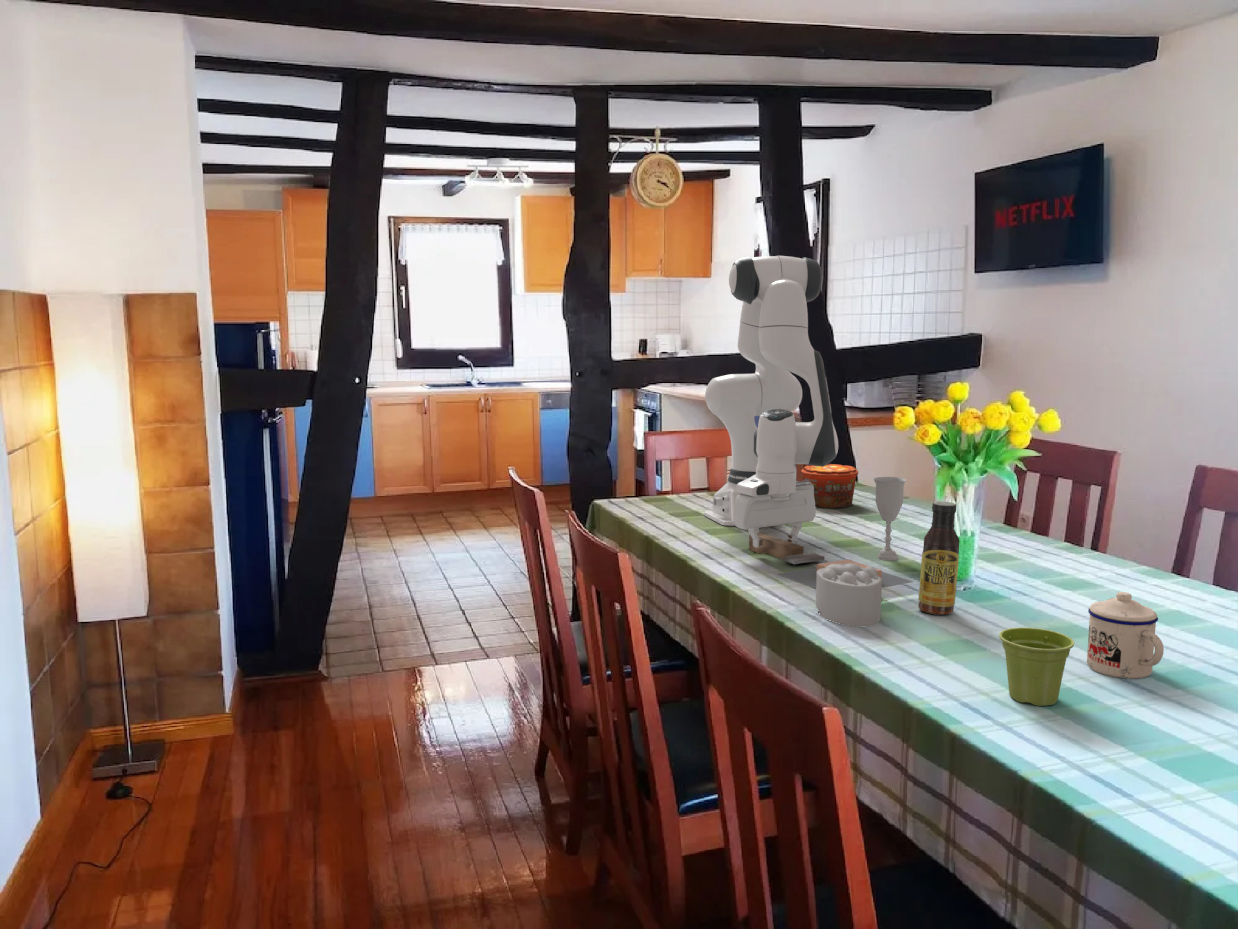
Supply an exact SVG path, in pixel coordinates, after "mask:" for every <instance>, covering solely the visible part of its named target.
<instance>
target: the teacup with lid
mask: <svg viewBox="0 0 1238 929" xmlns="http://www.w3.org/2000/svg"><path fill="white" fill-rule="evenodd" d="M1132 598H1133V597H1132V594H1131V593H1129V592H1127V591H1119V592H1117V593H1116V596H1115V597H1111V598H1108V599H1106V600H1101V601H1096V602H1093V603H1092V604H1091V605H1090V606H1089V608H1088V611H1087V612H1088V614H1089V621H1088V636H1087V651H1086V653H1087V654H1086V664H1087V666H1088V667H1089V668H1090V669H1091V670H1093V671H1095V672H1097V673H1099V674H1103V675H1106V676H1109V677H1114V678H1121V679H1129V680H1130V679H1135V680H1136V679H1144V678H1147V677H1149V676H1150V675H1152V673H1153V666H1156V665H1158V664H1159V663H1160V662H1161V660H1162V659H1163V656H1164V652H1165V650H1164V647H1165V646H1164V643H1163V641H1162V639H1161V638H1160V637H1159V636H1158V635H1157V634H1156V626H1157V624H1156V623H1157V622H1158V621H1159V617H1158V614H1157V612H1156V611H1155V610H1153V609H1152V608H1150V607H1148V606H1145V605H1143V604H1141V603H1140V602H1138V601H1137V600H1134V599H1132Z"/></svg>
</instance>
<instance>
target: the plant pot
mask: <svg viewBox="0 0 1238 929" xmlns="http://www.w3.org/2000/svg"><path fill="white" fill-rule="evenodd" d="M998 638H999V640H1000V641H1001V642H1002V648H1003V650H1004V654H1005V664H1006V673H1007V674H1006V675H1007V682H1008V685H1007V686H1008V693H1009V694H1008V695H1009V696H1010V698H1012V699H1013V700H1015V701H1017V702H1019V703H1023V704H1024V703H1030V704H1032V705H1034V706H1041V707H1042V706H1043V707H1044V706H1051V705H1055V704H1056V703H1057V701H1058V700H1059V696H1060V690H1061V687H1062V681H1063V677H1064V671H1065V666H1066V662H1067V658H1068V657H1069V656H1070V653H1071V652H1070V651H1071V649H1072V648H1074V646H1075V642H1074V639H1073V638H1071V637H1070V636H1068V635H1066V634H1064V633H1061V632H1057V631H1055V630H1050V629H1045V628H1036V627H1009V628H1007V629H1006V628H1005V629H1003V630H1001V631H1000V632H999V633H998Z"/></svg>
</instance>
